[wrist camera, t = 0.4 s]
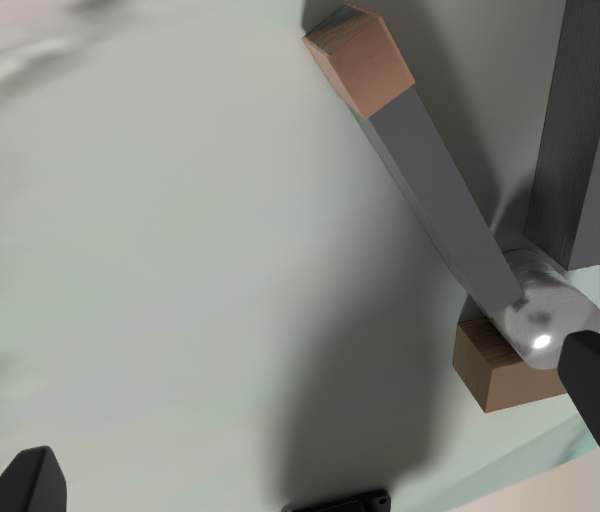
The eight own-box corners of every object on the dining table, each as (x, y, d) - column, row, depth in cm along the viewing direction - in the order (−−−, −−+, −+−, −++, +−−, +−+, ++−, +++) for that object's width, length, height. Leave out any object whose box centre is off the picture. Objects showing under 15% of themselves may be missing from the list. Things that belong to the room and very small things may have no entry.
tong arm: (487, 255, 24) (527, 294, 21) (453, 278, 24) (487, 319, 22) (347, 2, 17) (381, 15, 15) (301, 38, 17) (326, 57, 15)
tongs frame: (537, 346, 28) (588, 402, 25) (452, 366, 28) (494, 426, 24) (639, -103, 18) (751, -109, 14) (506, -92, 17) (592, -96, 14)
